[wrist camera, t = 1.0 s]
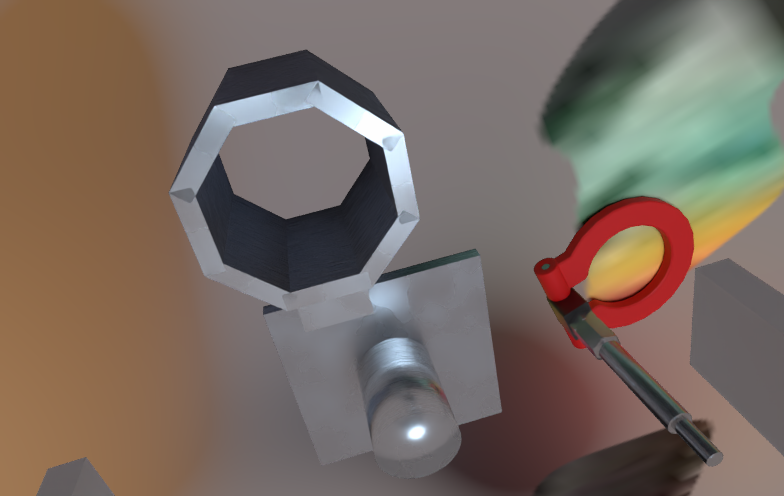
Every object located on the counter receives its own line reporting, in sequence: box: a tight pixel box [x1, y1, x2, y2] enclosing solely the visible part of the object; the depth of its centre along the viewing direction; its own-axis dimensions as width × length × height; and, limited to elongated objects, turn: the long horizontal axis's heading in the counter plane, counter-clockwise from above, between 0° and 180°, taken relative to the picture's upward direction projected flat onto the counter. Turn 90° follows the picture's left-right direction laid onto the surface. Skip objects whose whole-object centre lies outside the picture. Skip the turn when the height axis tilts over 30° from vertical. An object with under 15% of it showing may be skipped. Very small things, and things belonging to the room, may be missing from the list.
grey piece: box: [169, 50, 420, 332], centre depth 24 cm, size 11×8×7 cm
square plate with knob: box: [263, 249, 502, 479], centre depth 30 cm, size 12×12×7 cm
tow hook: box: [534, 197, 723, 466], centre depth 28 cm, size 8×13×9 cm
